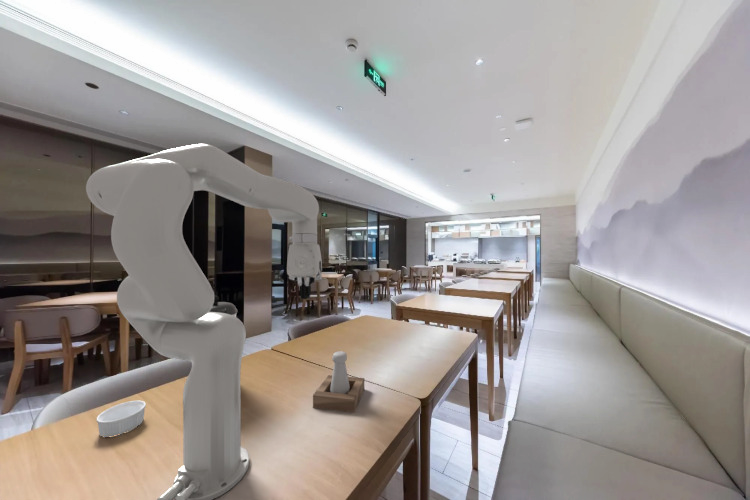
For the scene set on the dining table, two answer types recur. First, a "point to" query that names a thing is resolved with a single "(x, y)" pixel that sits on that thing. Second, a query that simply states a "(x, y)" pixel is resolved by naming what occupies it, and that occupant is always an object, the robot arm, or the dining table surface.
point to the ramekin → (121, 418)
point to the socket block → (339, 395)
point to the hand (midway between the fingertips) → (305, 298)
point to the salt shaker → (339, 374)
